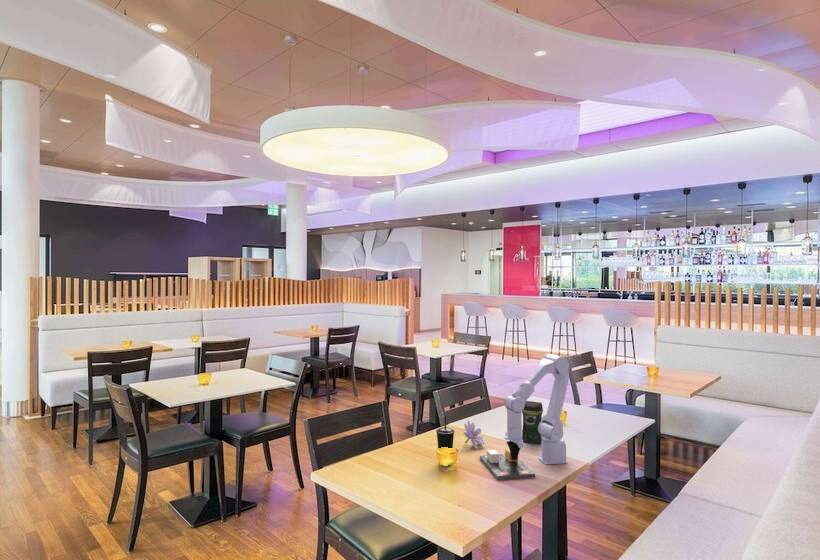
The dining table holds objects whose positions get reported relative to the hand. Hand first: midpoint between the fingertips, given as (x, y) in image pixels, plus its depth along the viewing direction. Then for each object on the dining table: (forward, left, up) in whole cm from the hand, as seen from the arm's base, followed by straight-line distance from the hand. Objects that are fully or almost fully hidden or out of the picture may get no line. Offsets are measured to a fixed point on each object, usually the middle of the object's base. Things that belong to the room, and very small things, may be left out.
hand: (514, 459), depth 193 cm
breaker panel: (+4, +1, -3) cm, 5 cm away
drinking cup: (+27, -7, -3) cm, 28 cm away
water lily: (+9, -27, -3) cm, 28 cm away
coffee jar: (-20, -28, -3) cm, 35 cm away
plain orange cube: (0, -3, -1) cm, 4 cm away
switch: (+8, -3, -1) cm, 9 cm away
